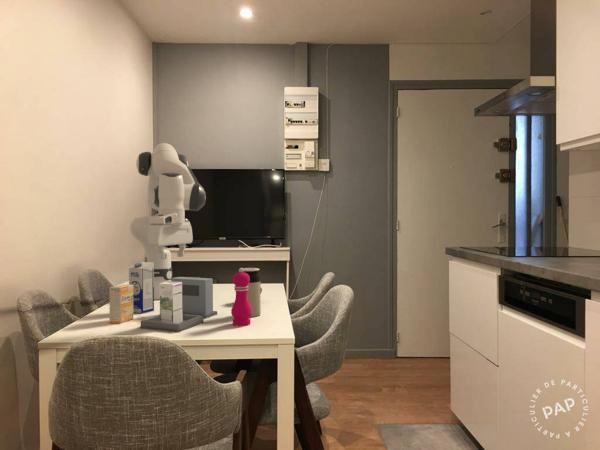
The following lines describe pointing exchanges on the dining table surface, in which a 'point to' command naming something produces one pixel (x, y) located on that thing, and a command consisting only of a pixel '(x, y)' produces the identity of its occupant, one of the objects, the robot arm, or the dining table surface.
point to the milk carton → (142, 286)
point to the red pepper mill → (241, 299)
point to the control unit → (197, 296)
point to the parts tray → (176, 327)
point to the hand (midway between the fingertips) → (172, 257)
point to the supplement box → (121, 303)
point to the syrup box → (171, 302)
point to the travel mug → (254, 291)
